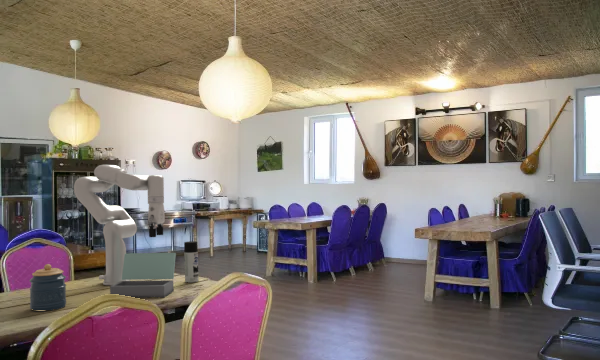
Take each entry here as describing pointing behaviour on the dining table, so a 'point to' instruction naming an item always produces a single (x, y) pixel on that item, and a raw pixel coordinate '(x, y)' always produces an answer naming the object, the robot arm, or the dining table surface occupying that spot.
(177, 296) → the dining table surface
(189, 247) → the spray can
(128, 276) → the cover
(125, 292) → the gray rectangular tray
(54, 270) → the canister
